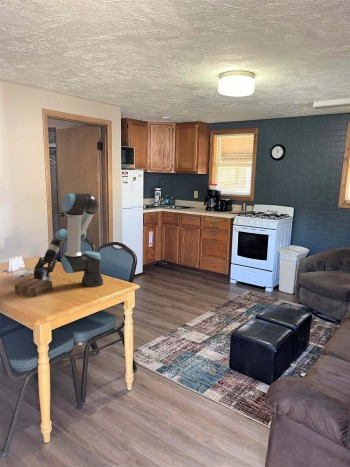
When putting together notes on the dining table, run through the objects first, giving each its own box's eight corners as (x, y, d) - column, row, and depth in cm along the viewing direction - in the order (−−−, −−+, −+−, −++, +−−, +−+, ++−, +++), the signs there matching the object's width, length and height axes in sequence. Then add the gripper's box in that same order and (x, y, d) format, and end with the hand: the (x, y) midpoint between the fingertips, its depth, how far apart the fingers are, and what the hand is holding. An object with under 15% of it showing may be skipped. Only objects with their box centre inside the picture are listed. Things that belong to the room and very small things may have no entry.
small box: (41, 285, 236) (41, 270, 235) (33, 284, 238) (33, 270, 236) (50, 281, 246) (50, 267, 245) (42, 280, 248) (41, 266, 246)
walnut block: (52, 289, 230) (52, 281, 229) (36, 297, 214) (35, 288, 213) (32, 286, 234) (32, 278, 233) (15, 294, 219) (14, 285, 218)
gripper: (65, 255, 252) (53, 283, 239) (42, 253, 256) (29, 280, 243) (61, 250, 246) (48, 278, 233) (38, 248, 250) (24, 275, 237)
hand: (38, 279), depth 238 cm, fingers closed on small box, 6 cm apart
